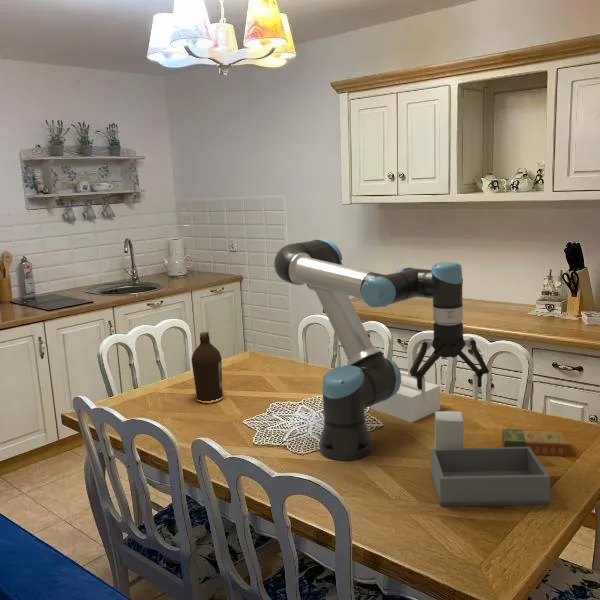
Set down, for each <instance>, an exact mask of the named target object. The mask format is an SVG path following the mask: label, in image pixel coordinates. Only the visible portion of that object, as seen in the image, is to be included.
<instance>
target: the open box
mask: <svg viewBox="0 0 600 600" xmlns="http://www.w3.org/2000/svg"><path fill="white" fill-rule="evenodd" d="M430 475H431V479H432V482H433V486H434V489H435V491H436V496H437V498H438V502H439V505H440V507H474V506H477V507H478V506H481V507H482V506H483V507H485V506H486V507H488V506H489V507H490V506H533V505H534V506H535V505H536V506H537V505H538V506H539V505H540V506H541V505H543V506H546V505H547V506H548V505H551V475H550V474H549V472H548V471H547V470H546V468H545V466H544V465H543V463H542V462H541V461H540V459H539V457H538V455H535V454H534V452H533V451H532V449H531V448H530V447H503V446H501V447H499V446H498V447H463V448H447V449H435V448H430Z"/></svg>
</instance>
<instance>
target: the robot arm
mask: <svg viewBox="0 0 600 600" xmlns="http://www.w3.org/2000/svg"><path fill="white" fill-rule="evenodd" d="M342 260H343V255H342V252H341V249H340V248H339V247H338V245H336V244H335V243H334V242H333V241H331V240H329V239H320V238H319V239H318V238H317V239H312V240H309V241H308V240H307V241H302V242H296V243H295V242H294V243H289V244H287V245H284V246H283V247H281V248H280V249H279V251H277V252H276V255H275V257H274V262H273V264H274V270H275V272H276V275H278V277H279V278H280V279H281V280H282V281H284V282H287V283H289V284H291V285H296V286H303V285H306V286H307V288H308V290H311V291H313V292H314V293H316V295H317V298H318V300H319V301H320V305H321V306H322V308H323V311H324V313H325V314H326V317H327V318H328V321H329V323H330V325H331V326H332V329H333V332H334V333H335V335H336V338H337V339H338V341H339V343H340V345H341V348H342V349H343V352H344V353H345V356H346V357H347V359H348V361H347V365H343V366H336V367H333V368H330V370H328V371H326V372H325V373H324V375H323V377H322V386H321V392H322V404H323V422H324V424H323V428H322V432H321V436H320V438H319V444H318V445H319V452H320V453H322V454H323V455H322V454H321V455H322V456H323V457H325V458H328V459H331V460H335V461H336V460H337V461H354V460H359V459H362V458H364V457H367V456H368V455H370V453H371V452H372V450H373V441H372V438H371V436H370V433H369V430H368V426H367V424H366V411H365V409H368V408H367V407H370V406H372V405H374V404H377V403H379V402H381V401H385V400H387V399H389V398H390V397H392V396H393V395H395V394H396V393H397V392H398V390H399V388H400V384H401V375H402V374H401V373H402V372H401V370H400V368H399V366H398V364H397V363H396V362H395V361H394V360H392V359H390V358H387V357H385V355H384V353H383V351H382V350H380V349H377V348H375V346H374V345H373V342H372V340H371V339H370V337H369V334H368V333H367V331H366V329H365V327H364V324H363V323H362V320H361V319H360V317H359V315H358V312H357V310H356V308H355V307H354V305H353V302H352V300H351V298H350V297H353V298H357V299H362V300H363V302H365V303H366V305H368V307H371V308H383V307H387V306H389V305H392V304H395V303H398V302H399V303H400V302H403V301H407V300H411V299H413V298H414V299H415V298H424V299H425V298H426V299H432V317H433V318H432V320H433V322H434V323H433V324H432V325H433V329H432V330H433V339H432V341H427V340H425V339H422V340H421V342H420V343H421V344H420V345H421V346H420V349H419V351H418V353H417V355H416V356H415V359H414V361H413V363H412V365H411V368H410V369H409V374H410V376H411V377H413V378H416V379H417V387H418V390H421V399H422V402H426V397H425V382H426V378H425V375H426V373H427V372H429V370H430V368H431V367H432V366H434V364H435V363H436V361H438V360H439V359H440V357H441V358H443V359H445V358H446V359H447V358H456V357H457V356H458V357H460V358H461V359H462V361H463V362H465V364H466V365H467V366H468V367H469V368H470V369H471V370H472V372H474V373H472V398H473V400H474V401H478V400H479V389H478V388H482V386H483V385H482V384H483V383H482V378H483V376H484V375H486V374H489V373H490V370H489V368H488V366H487V365H486V363H485V361H484V358H483V357H482V356H481V353H480V351H479V349H478V346H477V341H476V340H475V338H474V337H470V338H469V339H465V340H464V324H463V320H464V313H463V309H464V308H463V304H464V303H463V283H464V278H463V269H462V265H461V264H460V263H458V262H454V261H449V262H447V261H445V262H444V261H443V262H440V261H439V262H436V263H434V264H433V265H432V266H431V269H426V268H425V269H423V268H414V267H400V268H398V269H396V271H395V272H393V273H390V274H383V273H378V272H373V271H370V270H365V269H360V268H356V267H353V266H348V265H343V262H342ZM465 346H467V347H468V348H469V349H470V350H471V351H472V353H473V355H474V357H475V359H476V360H477V362H478V364H479V366H480V368H478V367H477V366H476V364H475V363H474V362H473V361H472V360H471V359H470V358H469V357H468V356H467V355H466V354H465V353H464V352H463V349H464V347H465ZM431 347H432V348H433V349H434V351H433V352H432V353H431V355H430V356H429V357H428V359H427V360H426V361H425V362H424V363H423V365H422V366H421V364H422V362H423V360H424V358H425V357H426V356H425V355H426V354H427V351H428V350H430V348H431ZM420 366H421V367H420Z"/></svg>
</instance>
